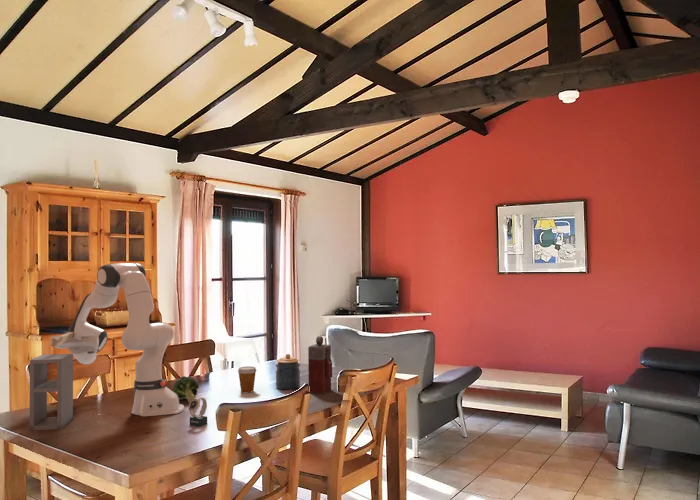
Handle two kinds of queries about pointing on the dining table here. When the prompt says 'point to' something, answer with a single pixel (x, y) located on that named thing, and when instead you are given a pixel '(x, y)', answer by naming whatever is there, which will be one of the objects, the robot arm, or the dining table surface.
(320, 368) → the red square decanter
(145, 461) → the dining table surface
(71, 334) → the slat
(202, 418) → the watch
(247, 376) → the disposable coffee cup
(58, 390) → the shelf stand
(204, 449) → the dining table surface
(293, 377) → the canister
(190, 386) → the vegetable
